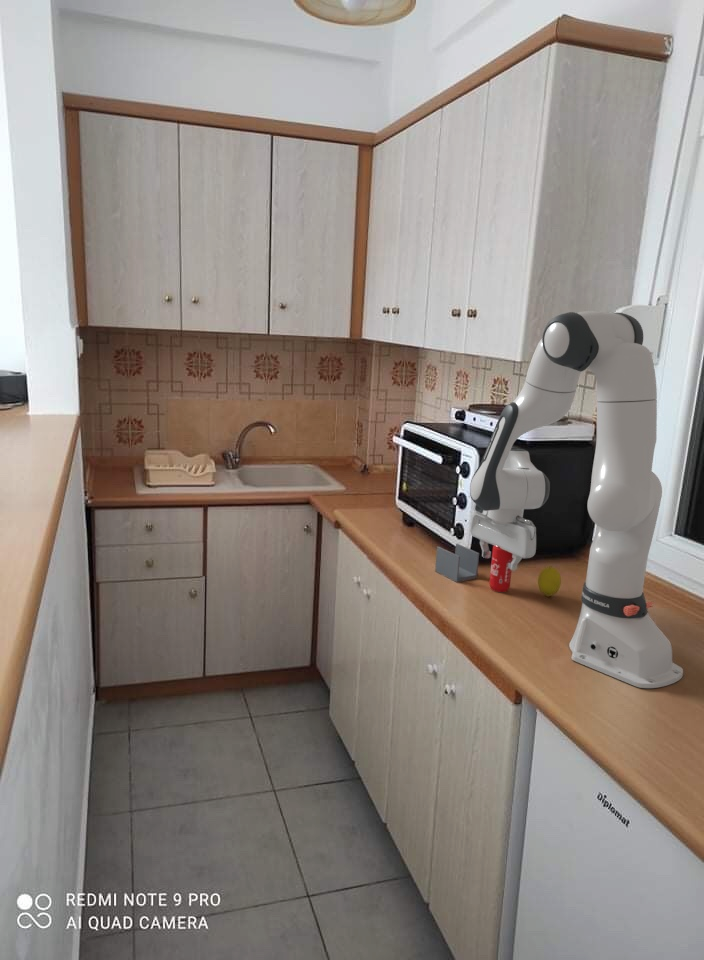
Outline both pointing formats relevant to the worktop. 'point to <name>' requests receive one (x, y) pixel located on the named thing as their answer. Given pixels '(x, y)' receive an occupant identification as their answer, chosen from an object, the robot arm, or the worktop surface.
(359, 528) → the worktop surface
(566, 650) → the worktop surface
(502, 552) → the beverage can
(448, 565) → the bracket
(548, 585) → the lemon
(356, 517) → the worktop surface
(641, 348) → the robot arm
